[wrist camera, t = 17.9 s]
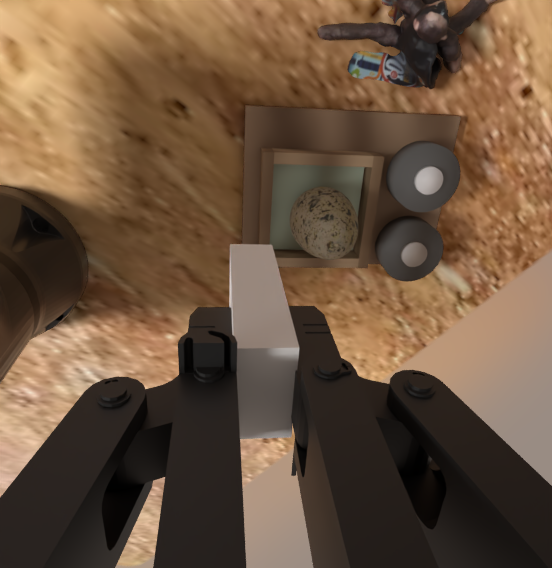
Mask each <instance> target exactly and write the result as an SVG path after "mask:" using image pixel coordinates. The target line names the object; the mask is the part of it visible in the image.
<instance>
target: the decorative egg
mask: <svg viewBox="0 0 552 568" xmlns="http://www.w3.org/2000/svg"><path fill="white" fill-rule="evenodd" d="M290 227H291V231H292V234H293V236H294V238H295V240H296V241H297V243H298V244H299V245H300V246H301V247H302V248H303V249H304V250H305V251H306V252H308V253H309V254H311V255H313V256H315V257H318V258H320V259H325V260H334V259H338V258H341V257H343V256H345V255H346V254H347V253H349V252H350V250H351V249H352V248H353V246H354V244H355V242H356V240H357V236H358V218H357V214H356V211H355V209H354V207H353V205H352V203H351V202H350V200H349V199H348V198H347V197H346V196H345V195H344V194H343V193H341V192H340V191H338V190H336V189H333V188H330V187H315V188H312V189H309V190H307V191H305V192H304V193H302V194H301V195H300V196H299V197H298V198H297V200H296V201H295V203H294V204H293V207H292V209H291V213H290Z"/></svg>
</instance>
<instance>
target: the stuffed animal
mask: <svg viewBox="0 0 552 568" xmlns="http://www.w3.org/2000/svg"><path fill="white" fill-rule="evenodd" d="M495 1H497V0H470V2H469V3H468V4H467V5H466V6H465V7H464V8H463V9H462V10H461V11H460V12H458V13H457V14H455V15H454V16H452V17H449V16H448V10H447V4H446V1H443V0H382V3H383V4H384V5H387V6H392V7H393V9H392V10H391V11H389V13H388V15H389V16H390V17H391V18H392V19H393V21H394V24H395V23H396V21H397V20H398V19H399V18H400V17H401V16H403V15H404V17H405V19H404V20H403V21H402V22H401V24H400V26H397V25H391V24H386V23H382V22H379V23H377V24H375V23H364V24H357V23H341V24H332V25H325V26H321V27H320V28H319V29H318V35H319V37H320V38H321V39H325V40H334V39H349V40H352V39H362V38H369V39H371V40H374V41H376V42H378V43H379V44H381V45H383V46H385V47H386V46H387V47H389V46H391V47H395V48H396V49H398V50H400V51H401V52H400V53H399V54H398V55H397V56H390V55H389V54H387V53H372V52H367V51H359V52H356V53H354V55H353V56H352V58H351V60H350V61H349V65H348V72H349V73H350V74H351V75H352V76H353V77H355V78H360V79H373V80H381V81H386V82H390V83H394V84H398V85H402V86H408V87H422V86H425V87H426V88H427V87H428V88H429V89H433V88H434V86H435V80H436V79H437V77H438V74H439V72H440V70H441V67H442V66H441V61H440V59H439V58H437V57H436V55H437V53H438V54H439V55H440V57H441V58H442V59H443V64H444V66H445V68H446V69H447V70H448V71H450V72H451V73H456V72H457V71H458V70H459V69H460V67H461V59H462V53H461V47H460V44H459V39H458V35H460V34H462V33H463V31H464V29H465V28H467V27H469V26H470V25H471V24H472V23H473V22H474V21H475V20H476V19H477V18H478V17H479V16H480V15H481V14H482V13H483V12H485V11H486V10H487V8H488V6H489V4H491V3H493V2H495ZM401 11H402V12H401Z"/></svg>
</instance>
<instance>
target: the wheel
mask: <svg viewBox="0 0 552 568" xmlns="http://www.w3.org/2000/svg"><path fill="white" fill-rule="evenodd" d="M459 179H460V166H459V163H458V160H457V158H456V156H455V155H454V154H453V153H452V152H451V151H450V150H449V149H447V148H445V147H443V146H440V145H438V144H435V143H433V142H430V141H415V142H412V143H410V144H407V145H406V146H404V147H403V148H401V149H400V150H399V151H398V152H397V153H396V154H395V155H394V157H393V158H392V160H391V162H390V164H389V166H388V169H387V174H386V182H387V187H388V190H389V192H390V194H391V195H392V196H393V197H394V199H396V200H397V201H398V202H399V203H401V204H402V205H403V206H404V207H405V208H407V209H409V210H411V211H415V212H429V211H432V210H435V209H437V208H439V207H441V206H442V205H444V204H445V203H446V202H447V201H448V200H449V199H450V198H451V197H452V195H453V194H454V192H455V191H456V189H457V186H458V183H459Z"/></svg>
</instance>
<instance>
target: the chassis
mask: <svg viewBox="0 0 552 568" xmlns="http://www.w3.org/2000/svg"><path fill="white" fill-rule="evenodd" d="M460 119H461V117H460V116H456V115H440V114H420V113H400V112H380V111H360V110H340V109H320V108H300V107H279V106H259V105H245V133H244V174H243V215H242V244H263V245H272V246H273V250H274V253H275V257H276V261H277V265H278V267H304V268H367V267H368V264H381V265H382V266H383V268H384V269H385V270H386V272H387V273H388V274H389V275H390V276H391V277H393V278H395V279H397V280H400V281H414V280H418V279H420V278H423V277H425V276H426V275H428V274H429V273H430V272H432V271H433V270H434V268H435V267H436V266H437V265H438V263H439V261H440V259H441V257H442V254H443V241H442V238H441V235H440V234H439V232H438V231H437V230H436V229H437V225H438V220H439V215H440V211H441V207H439V208H437V209H435V210H432V211H429V212H415V211H411V210H409V209H407V208H405V207H404V206H403V205H402V204H401V203H399V202H398V201H397V200H396V199H394V197H393V196H392V195H391V194H390V192H389V190H388V187H387V182H386V174H387V169H388V166H389V164H390V162H391V160H392V158H393V157H394V155H395V154H396V153H397V152H398V151H399V150H400V149H401V148H403V147H404V146H406V145H407V144H410V143H412V142H415V141H430V142H433V143H435V144H438V145H440V146H443V147H445V148H447V149H449V150H450V151H451V152H452V153H453V151H454V146H455V142H456V137H457V132H458V128H459V123H460ZM315 187H330V188H333V189H336V190H338V191H340V192H341V193H343V194H344V195H345V196H346V197H347V198H348V199H349V200H350V202H351V203H352V205H353V207H354V209H355V211H356V214H357V218H358V236H357V240H356V242H355V244H354V246H353V248H352V249H351V250H350V252H349V253H347V254H346V255H345V256H343V257H341V258H338V259H334V260H325V259H320V258H318V257H315V256H313V255H311V254H309V253H308V252H306V251H305V250H304V249H303V248H302V247H301V246H300V245H299V244H298V243H297V241H296V240H295V238H294V236H293V234H292V231H291V227H290V213H291V209H292V207H293V204H294V203H295V201H296V200H297V198H298V197H299V196H300V195H301V194H302V193H304V192H305V191H307V190H309V189H312V188H315Z"/></svg>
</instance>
